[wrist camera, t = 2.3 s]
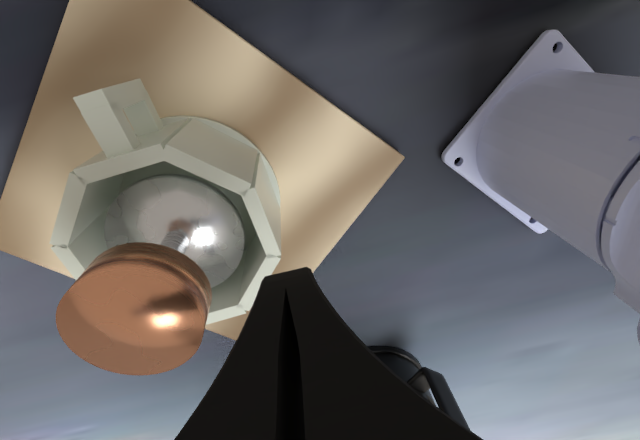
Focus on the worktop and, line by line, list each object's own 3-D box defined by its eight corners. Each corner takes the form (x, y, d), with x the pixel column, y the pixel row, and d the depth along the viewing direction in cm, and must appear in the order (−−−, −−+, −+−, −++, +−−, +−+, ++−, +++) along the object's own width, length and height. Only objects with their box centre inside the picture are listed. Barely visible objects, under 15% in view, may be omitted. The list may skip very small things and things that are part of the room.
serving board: (398, 152, 19) (404, 157, 18) (254, 336, 24) (253, 347, 24) (105, -62, 14) (93, -69, 13) (-2, 234, 19) (-16, 244, 18)
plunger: (262, 266, 16) (256, 364, 11) (150, 298, 16) (96, 409, 11) (215, 156, 14) (180, 222, 9) (82, 196, 14) (-27, 282, 9)
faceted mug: (300, 244, 20) (306, 301, 16) (158, 285, 20) (125, 353, 16) (231, 50, 15) (213, 54, 11) (44, 107, 15) (-49, 134, 11)
